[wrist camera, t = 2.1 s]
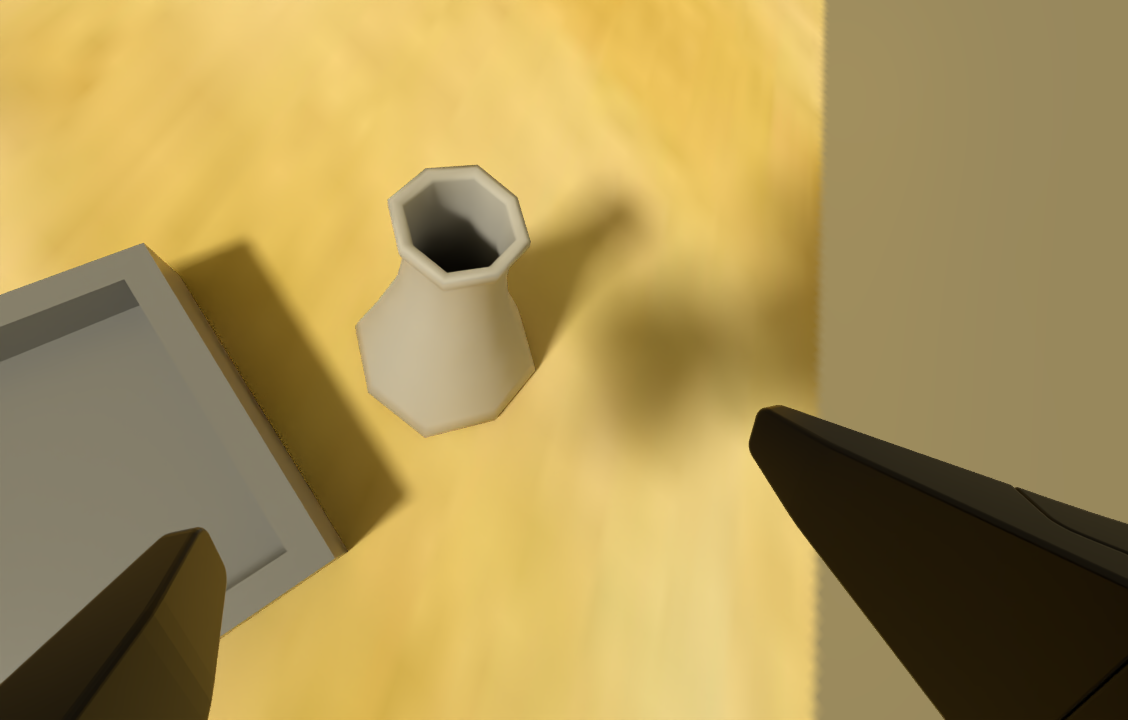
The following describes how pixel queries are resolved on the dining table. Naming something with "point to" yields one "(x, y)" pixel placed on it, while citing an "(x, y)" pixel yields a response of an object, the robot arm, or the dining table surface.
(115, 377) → the caddy tray
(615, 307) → the dining table surface
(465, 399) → the flask
